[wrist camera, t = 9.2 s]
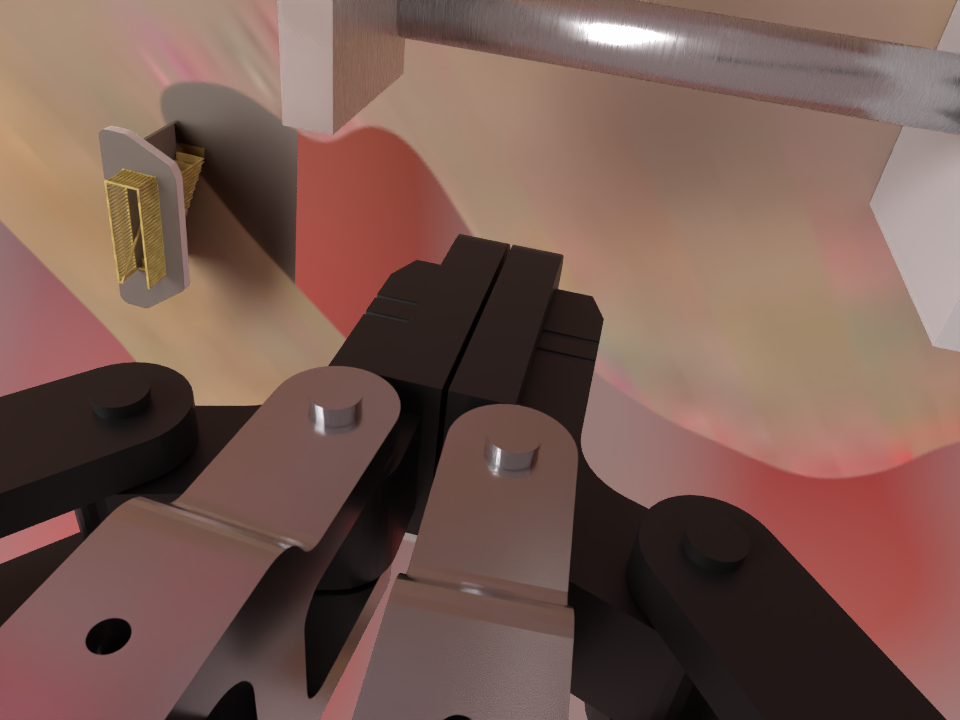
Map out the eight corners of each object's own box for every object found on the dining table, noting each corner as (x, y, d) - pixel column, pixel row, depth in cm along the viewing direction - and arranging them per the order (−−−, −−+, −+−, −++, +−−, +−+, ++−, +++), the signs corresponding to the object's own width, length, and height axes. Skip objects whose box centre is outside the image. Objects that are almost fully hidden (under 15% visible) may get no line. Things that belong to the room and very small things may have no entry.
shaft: (1183, 36, 24) (1366, 117, 18) (1091, 187, 27) (1218, 305, 20) (376, -90, 27) (274, -61, 21) (372, 58, 30) (282, 125, 24)
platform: (299, 52, 38) (236, 89, 33) (293, 347, 49) (245, 411, 44) (74, -1, 39) (-22, 27, 34) (116, 299, 50) (48, 356, 45)
